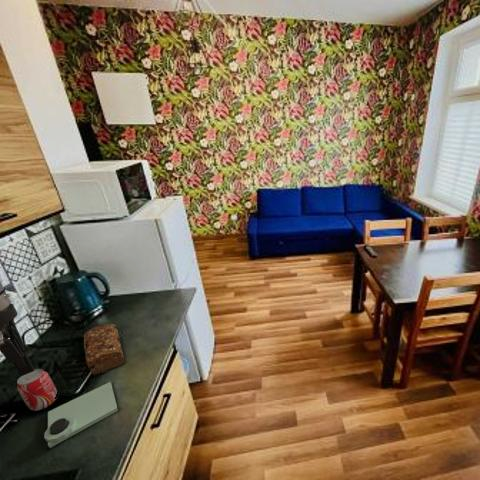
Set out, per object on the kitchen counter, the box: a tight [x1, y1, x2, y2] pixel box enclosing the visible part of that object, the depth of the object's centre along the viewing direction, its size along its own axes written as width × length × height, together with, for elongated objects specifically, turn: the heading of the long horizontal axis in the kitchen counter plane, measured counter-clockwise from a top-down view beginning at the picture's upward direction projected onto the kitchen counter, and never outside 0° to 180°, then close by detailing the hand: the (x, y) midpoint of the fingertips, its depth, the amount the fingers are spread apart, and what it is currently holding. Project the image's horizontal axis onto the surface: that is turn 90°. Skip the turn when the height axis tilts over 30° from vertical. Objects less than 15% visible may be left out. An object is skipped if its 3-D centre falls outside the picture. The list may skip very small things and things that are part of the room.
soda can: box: [16, 368, 58, 412], centre depth 85 cm, size 7×7×12 cm
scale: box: [43, 381, 119, 449], centre depth 84 cm, size 16×14×3 cm
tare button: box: [50, 418, 68, 435], centre depth 77 cm, size 4×4×2 cm
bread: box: [83, 323, 126, 376], centre depth 104 cm, size 19×11×10 cm, turn 40°
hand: (27, 372), depth 82 cm, fingers closed
